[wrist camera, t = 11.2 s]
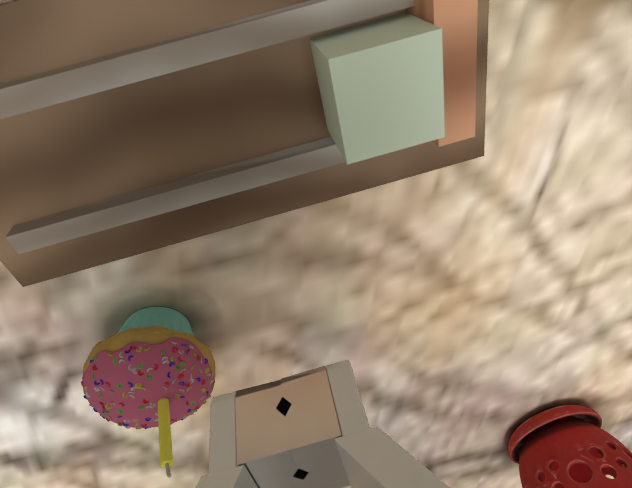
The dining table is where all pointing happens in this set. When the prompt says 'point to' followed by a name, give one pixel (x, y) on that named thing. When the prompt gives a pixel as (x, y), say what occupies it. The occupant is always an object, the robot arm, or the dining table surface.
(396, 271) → the dining table surface
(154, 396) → the cupcake
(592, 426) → the plant pot
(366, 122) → the block
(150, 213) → the guide board
